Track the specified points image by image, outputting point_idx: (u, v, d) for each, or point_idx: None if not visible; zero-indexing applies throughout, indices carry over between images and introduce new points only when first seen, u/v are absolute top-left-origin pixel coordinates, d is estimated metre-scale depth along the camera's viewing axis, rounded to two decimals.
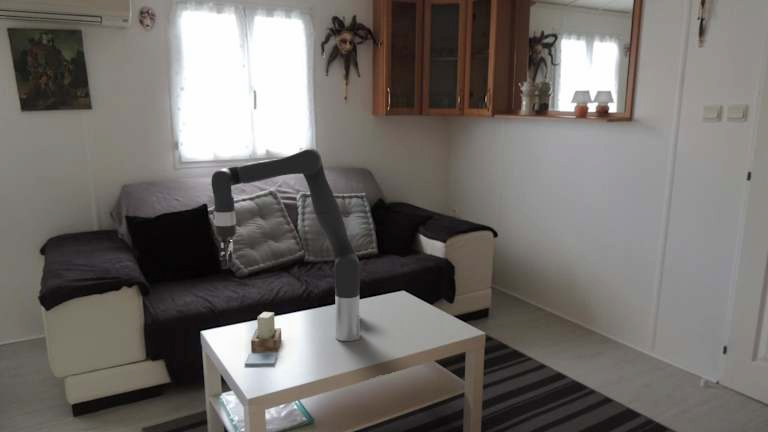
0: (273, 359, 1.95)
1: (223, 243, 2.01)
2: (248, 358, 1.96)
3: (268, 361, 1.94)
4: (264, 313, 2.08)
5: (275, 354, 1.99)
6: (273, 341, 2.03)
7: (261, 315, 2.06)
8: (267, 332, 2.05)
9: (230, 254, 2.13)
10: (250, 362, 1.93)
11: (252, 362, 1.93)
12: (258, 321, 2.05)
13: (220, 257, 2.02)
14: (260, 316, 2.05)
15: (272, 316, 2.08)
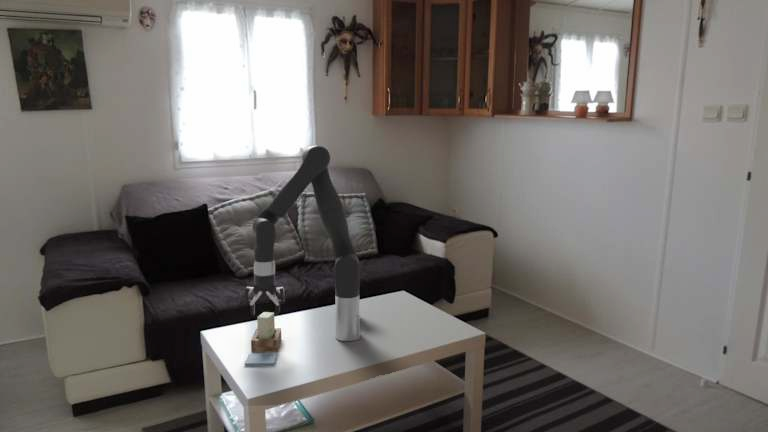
0: (273, 359, 1.95)
1: (283, 287, 2.06)
2: (248, 358, 1.96)
3: (268, 361, 1.94)
4: (264, 313, 2.08)
5: (275, 354, 1.99)
6: (273, 341, 2.03)
7: (261, 315, 2.06)
8: (267, 332, 2.05)
9: (254, 305, 2.07)
10: (250, 362, 1.93)
11: (252, 362, 1.93)
12: (258, 321, 2.05)
13: (283, 302, 2.06)
14: (260, 316, 2.05)
15: (272, 316, 2.08)
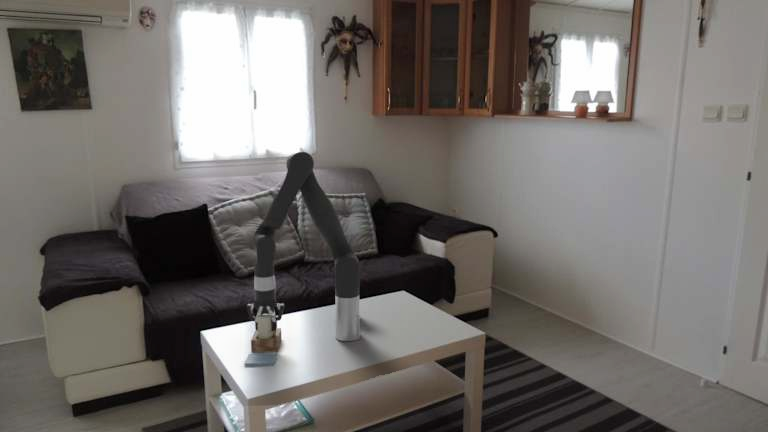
0: (273, 359, 1.95)
1: (283, 304, 2.07)
2: (248, 358, 1.96)
3: (268, 361, 1.94)
4: None
5: (275, 354, 1.99)
6: (273, 341, 2.03)
7: (261, 315, 2.06)
8: (267, 332, 2.05)
9: None
10: (250, 362, 1.93)
11: (252, 362, 1.93)
12: (258, 321, 2.05)
13: (280, 319, 2.07)
14: (260, 316, 2.05)
15: None
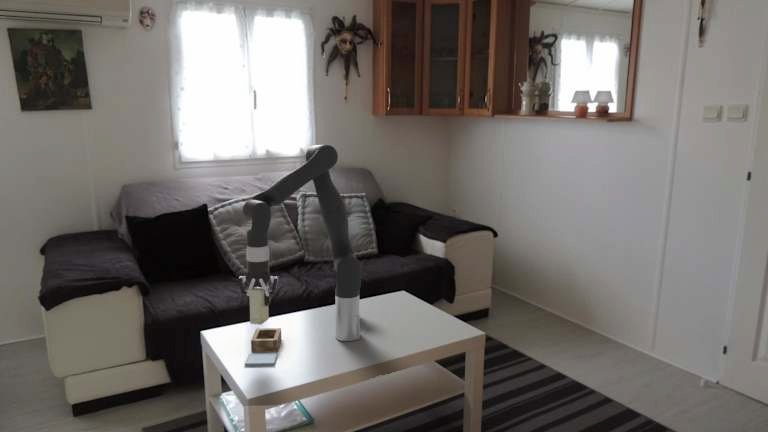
0: (273, 359, 1.95)
1: (277, 277, 1.94)
2: (248, 358, 1.96)
3: (268, 361, 1.94)
4: None
5: (275, 354, 1.99)
6: (273, 341, 2.03)
7: (254, 288, 1.93)
8: (259, 306, 1.91)
9: None
10: (250, 362, 1.93)
11: (252, 362, 1.93)
12: (250, 294, 1.91)
13: (273, 293, 1.93)
14: (252, 289, 1.92)
15: None
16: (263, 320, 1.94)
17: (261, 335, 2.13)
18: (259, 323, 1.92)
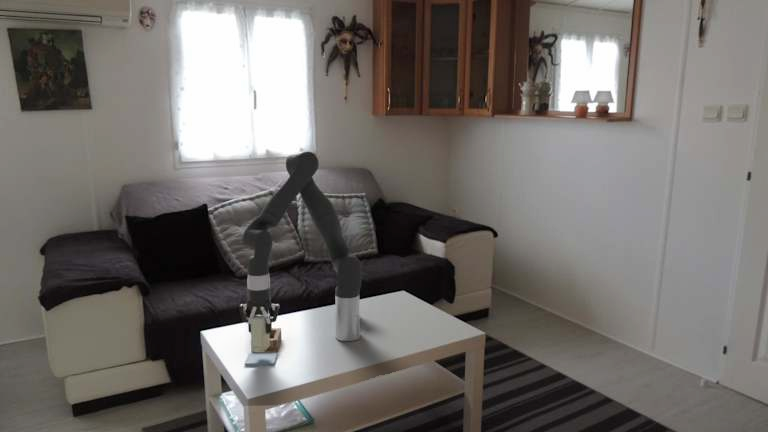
0: (273, 359, 1.95)
1: (278, 305, 1.94)
2: (248, 358, 1.96)
3: (268, 361, 1.94)
4: None
5: (275, 354, 1.99)
6: (273, 341, 2.03)
7: (255, 316, 1.93)
8: (261, 334, 1.91)
9: None
10: (250, 362, 1.93)
11: (252, 362, 1.93)
12: (251, 322, 1.91)
13: (275, 320, 1.93)
14: (254, 317, 1.92)
15: None
16: (265, 348, 1.94)
17: None
18: (261, 351, 1.92)
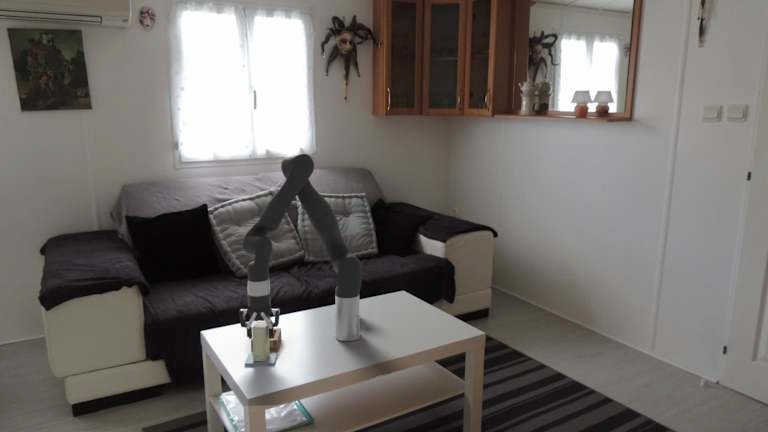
0: (273, 359, 1.95)
1: (279, 309, 1.94)
2: (248, 358, 1.96)
3: (268, 361, 1.94)
4: (259, 323, 1.95)
5: (275, 354, 1.99)
6: (273, 341, 2.03)
7: (256, 325, 1.93)
8: (263, 344, 1.92)
9: (251, 328, 1.94)
10: (250, 362, 1.93)
11: (252, 362, 1.93)
12: (253, 332, 1.92)
13: None
14: (255, 327, 1.92)
15: (268, 326, 1.95)
16: (266, 357, 1.95)
17: None
18: (262, 360, 1.93)
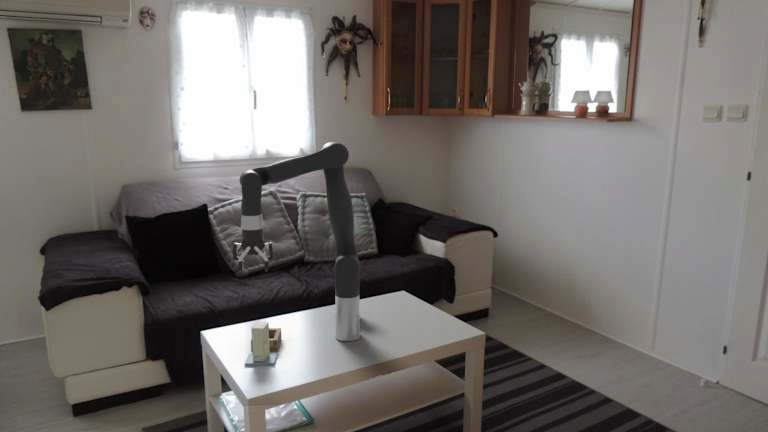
0: (273, 359, 1.95)
1: (271, 243, 2.01)
2: (248, 358, 1.96)
3: (268, 361, 1.94)
4: (258, 323, 1.95)
5: (275, 354, 1.99)
6: (273, 341, 2.03)
7: (255, 326, 1.93)
8: (262, 344, 1.92)
9: None
10: (250, 362, 1.93)
11: (252, 362, 1.93)
12: (252, 332, 1.92)
13: (272, 258, 2.01)
14: (254, 327, 1.92)
15: (267, 326, 1.95)
16: (266, 357, 1.95)
17: None
18: (262, 360, 1.93)
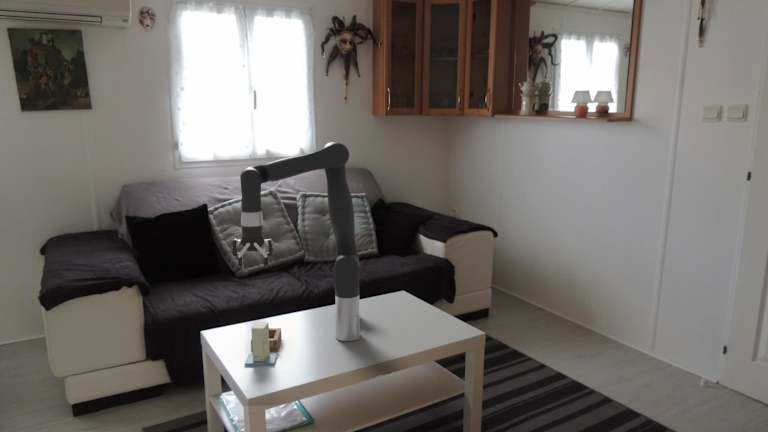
0: (273, 359, 1.95)
1: (271, 239, 2.03)
2: (248, 358, 1.96)
3: (268, 361, 1.94)
4: (258, 323, 1.96)
5: (275, 354, 1.99)
6: (273, 341, 2.03)
7: (255, 326, 1.93)
8: (262, 344, 1.92)
9: (242, 258, 2.04)
10: (250, 362, 1.93)
11: (252, 362, 1.93)
12: (252, 332, 1.92)
13: (271, 254, 2.03)
14: (254, 327, 1.92)
15: (267, 326, 1.95)
16: (266, 357, 1.95)
17: None
18: (262, 360, 1.93)
